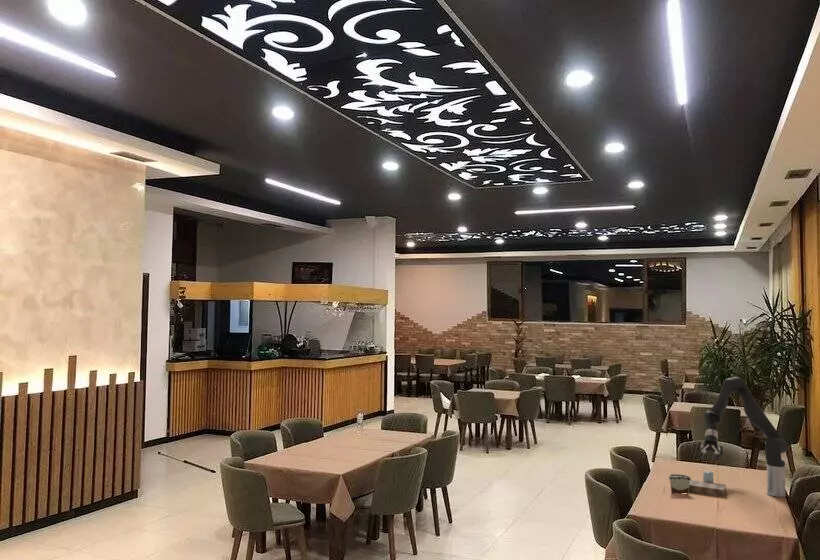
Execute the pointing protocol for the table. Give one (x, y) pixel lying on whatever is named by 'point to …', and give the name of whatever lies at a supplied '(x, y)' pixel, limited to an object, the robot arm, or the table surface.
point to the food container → (679, 483)
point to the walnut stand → (707, 488)
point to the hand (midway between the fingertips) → (709, 459)
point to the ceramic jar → (707, 476)
